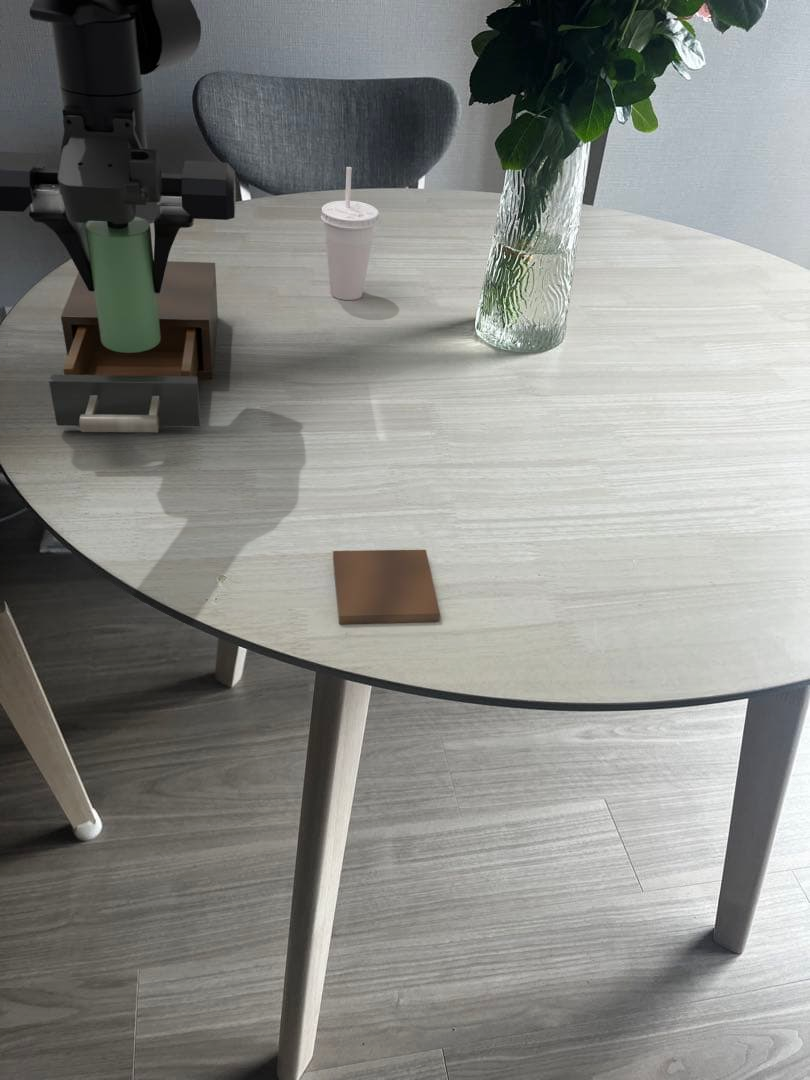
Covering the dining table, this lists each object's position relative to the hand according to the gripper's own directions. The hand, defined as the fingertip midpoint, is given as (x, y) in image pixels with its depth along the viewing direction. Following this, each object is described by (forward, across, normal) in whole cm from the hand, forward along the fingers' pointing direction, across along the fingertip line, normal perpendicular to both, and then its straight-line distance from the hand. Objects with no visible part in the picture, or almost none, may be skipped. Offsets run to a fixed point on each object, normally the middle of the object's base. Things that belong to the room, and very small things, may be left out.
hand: (125, 290), depth 75 cm
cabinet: (+11, 0, +12) cm, 16 cm away
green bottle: (+4, 0, 0) cm, 4 cm away
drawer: (+10, 0, -2) cm, 10 cm away
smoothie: (+11, +21, +26) cm, 35 cm away
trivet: (+11, +20, -26) cm, 34 cm away
